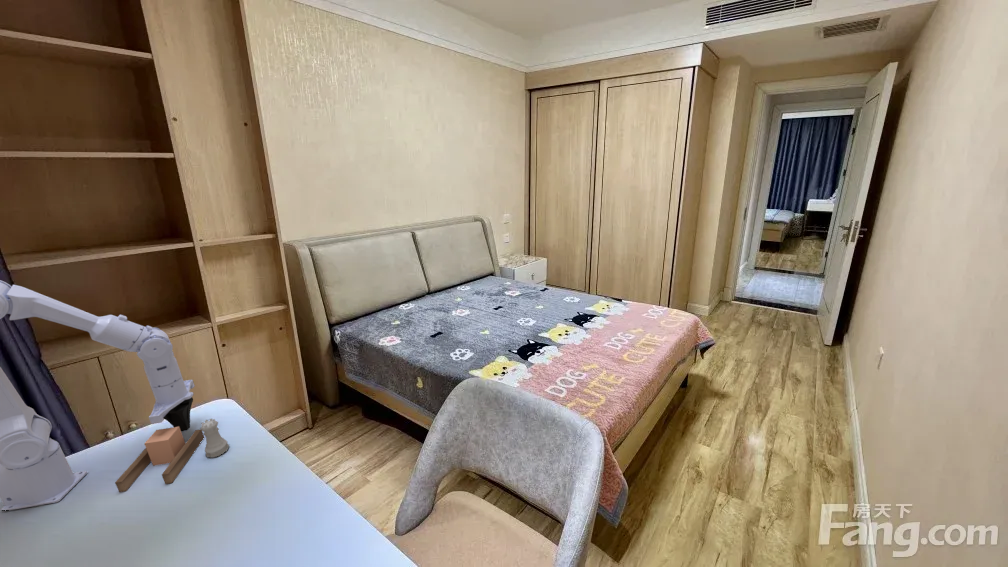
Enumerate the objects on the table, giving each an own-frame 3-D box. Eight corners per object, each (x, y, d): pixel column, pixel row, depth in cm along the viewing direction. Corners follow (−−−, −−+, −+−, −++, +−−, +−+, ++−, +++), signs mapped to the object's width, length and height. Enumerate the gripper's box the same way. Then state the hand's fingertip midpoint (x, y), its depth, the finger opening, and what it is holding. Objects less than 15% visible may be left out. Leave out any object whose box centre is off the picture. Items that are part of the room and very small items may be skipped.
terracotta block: (153, 465, 88) (144, 443, 86) (164, 451, 92) (156, 429, 90) (176, 462, 89) (168, 439, 87) (187, 447, 93) (179, 426, 91)
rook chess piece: (220, 458, 89) (210, 428, 87) (201, 458, 90) (190, 429, 87) (233, 444, 94) (224, 415, 91) (215, 444, 94) (205, 415, 91)
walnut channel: (119, 492, 81) (115, 482, 81) (159, 444, 94) (156, 436, 94) (172, 483, 83) (168, 473, 82) (204, 437, 96) (201, 429, 95)
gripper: (168, 395, 86) (187, 447, 90) (201, 362, 99) (216, 408, 104) (130, 401, 85) (151, 453, 89) (168, 366, 98) (185, 413, 102)
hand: (183, 429), depth 96 cm, fingers closed
